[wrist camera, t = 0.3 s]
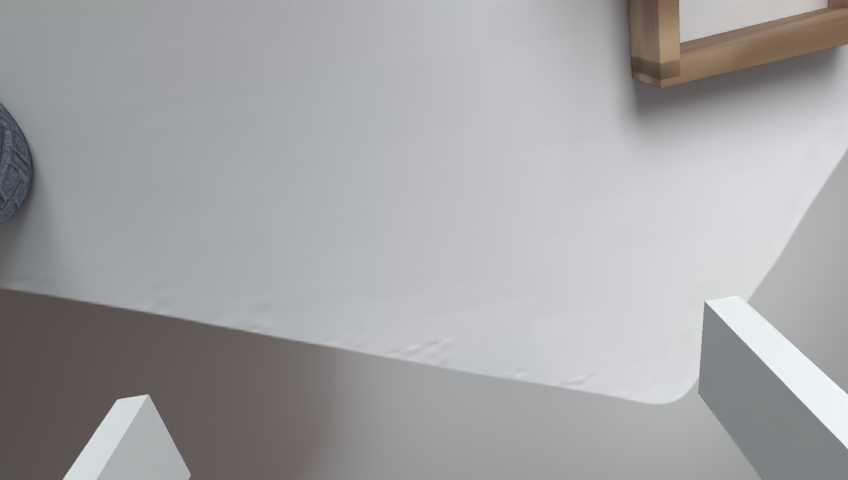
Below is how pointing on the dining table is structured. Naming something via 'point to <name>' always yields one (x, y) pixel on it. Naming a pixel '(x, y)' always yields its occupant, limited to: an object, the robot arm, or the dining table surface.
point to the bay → (724, 42)
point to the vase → (12, 166)
